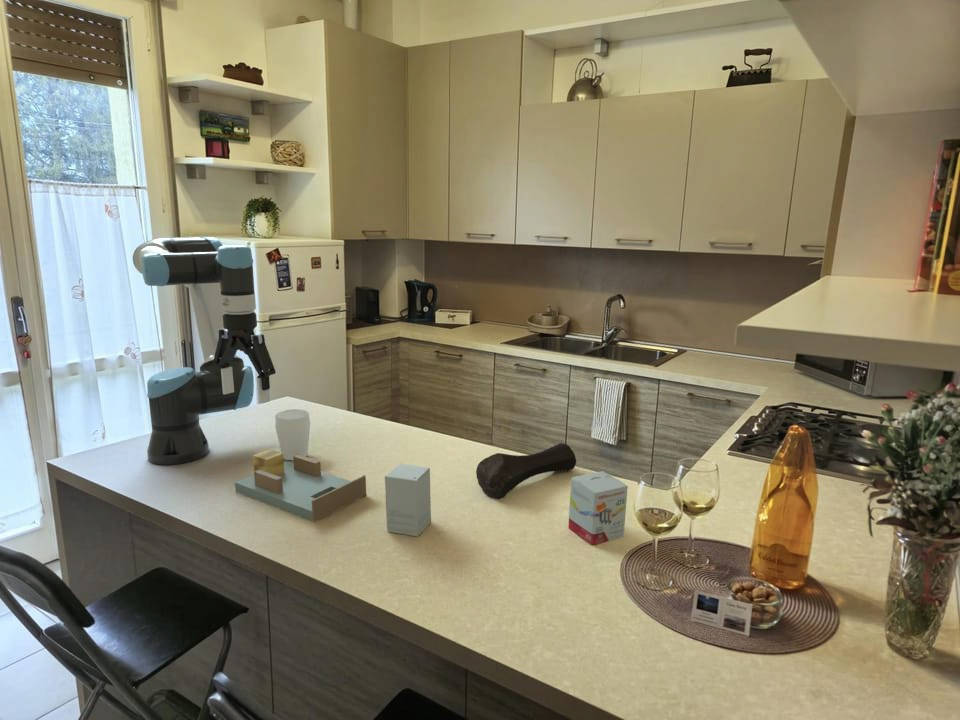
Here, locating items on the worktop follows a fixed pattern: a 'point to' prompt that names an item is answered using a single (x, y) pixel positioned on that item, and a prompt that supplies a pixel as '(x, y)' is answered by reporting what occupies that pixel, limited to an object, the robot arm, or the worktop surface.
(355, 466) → the worktop surface
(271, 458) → the ochre block
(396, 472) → the supplement box
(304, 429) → the cup
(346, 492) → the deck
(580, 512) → the ink box
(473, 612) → the worktop surface
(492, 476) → the dark brown bone
